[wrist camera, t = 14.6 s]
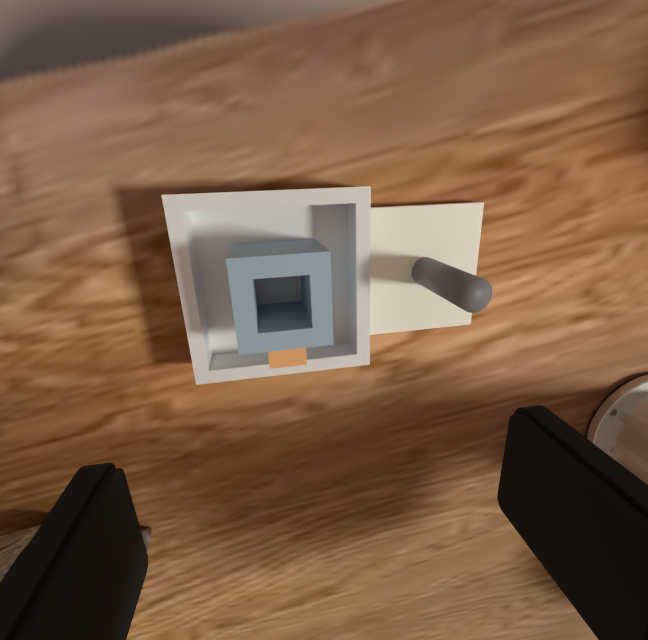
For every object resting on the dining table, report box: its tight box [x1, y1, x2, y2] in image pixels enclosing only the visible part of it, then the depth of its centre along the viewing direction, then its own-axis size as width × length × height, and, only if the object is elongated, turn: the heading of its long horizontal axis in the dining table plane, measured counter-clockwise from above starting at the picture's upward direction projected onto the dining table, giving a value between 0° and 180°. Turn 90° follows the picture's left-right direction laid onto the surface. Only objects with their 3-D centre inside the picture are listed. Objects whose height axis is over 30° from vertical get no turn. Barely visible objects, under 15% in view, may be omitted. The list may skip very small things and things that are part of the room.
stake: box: [370, 202, 492, 335], centre depth 26 cm, size 10×9×8 cm
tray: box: [161, 186, 371, 385], centre depth 26 cm, size 13×13×4 cm
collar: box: [226, 239, 334, 369], centre depth 25 cm, size 6×7×6 cm
